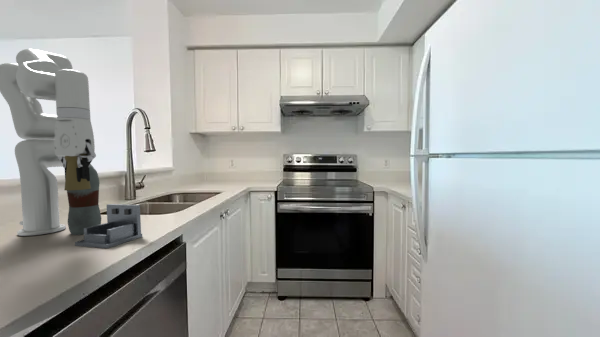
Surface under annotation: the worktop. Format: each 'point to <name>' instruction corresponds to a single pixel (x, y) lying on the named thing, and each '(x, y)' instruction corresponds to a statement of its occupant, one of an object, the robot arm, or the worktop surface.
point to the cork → (74, 175)
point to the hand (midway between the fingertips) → (77, 180)
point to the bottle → (84, 206)
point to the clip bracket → (114, 227)
